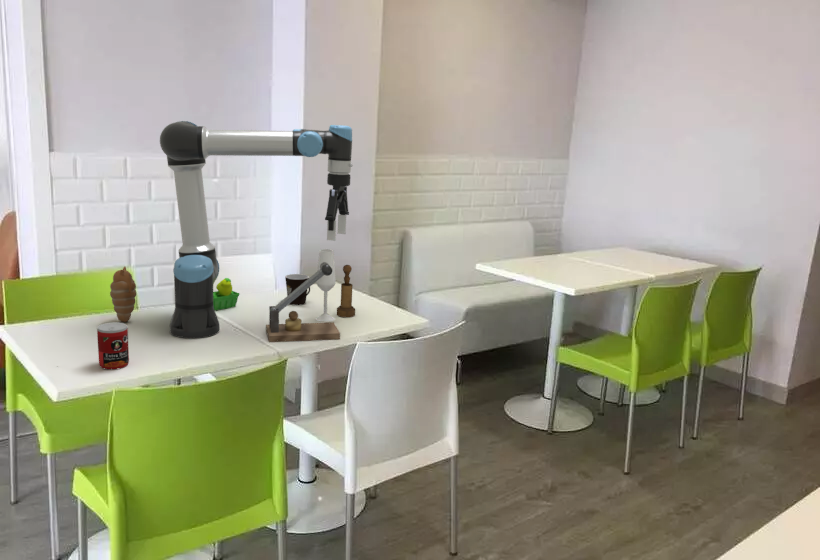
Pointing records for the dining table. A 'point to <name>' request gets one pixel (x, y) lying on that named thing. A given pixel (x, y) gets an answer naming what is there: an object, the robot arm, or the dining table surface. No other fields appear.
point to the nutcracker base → (305, 333)
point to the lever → (304, 286)
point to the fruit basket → (224, 295)
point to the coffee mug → (293, 283)
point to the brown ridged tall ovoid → (123, 294)
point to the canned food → (113, 345)
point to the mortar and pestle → (346, 296)
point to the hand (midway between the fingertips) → (336, 237)
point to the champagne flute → (326, 280)
